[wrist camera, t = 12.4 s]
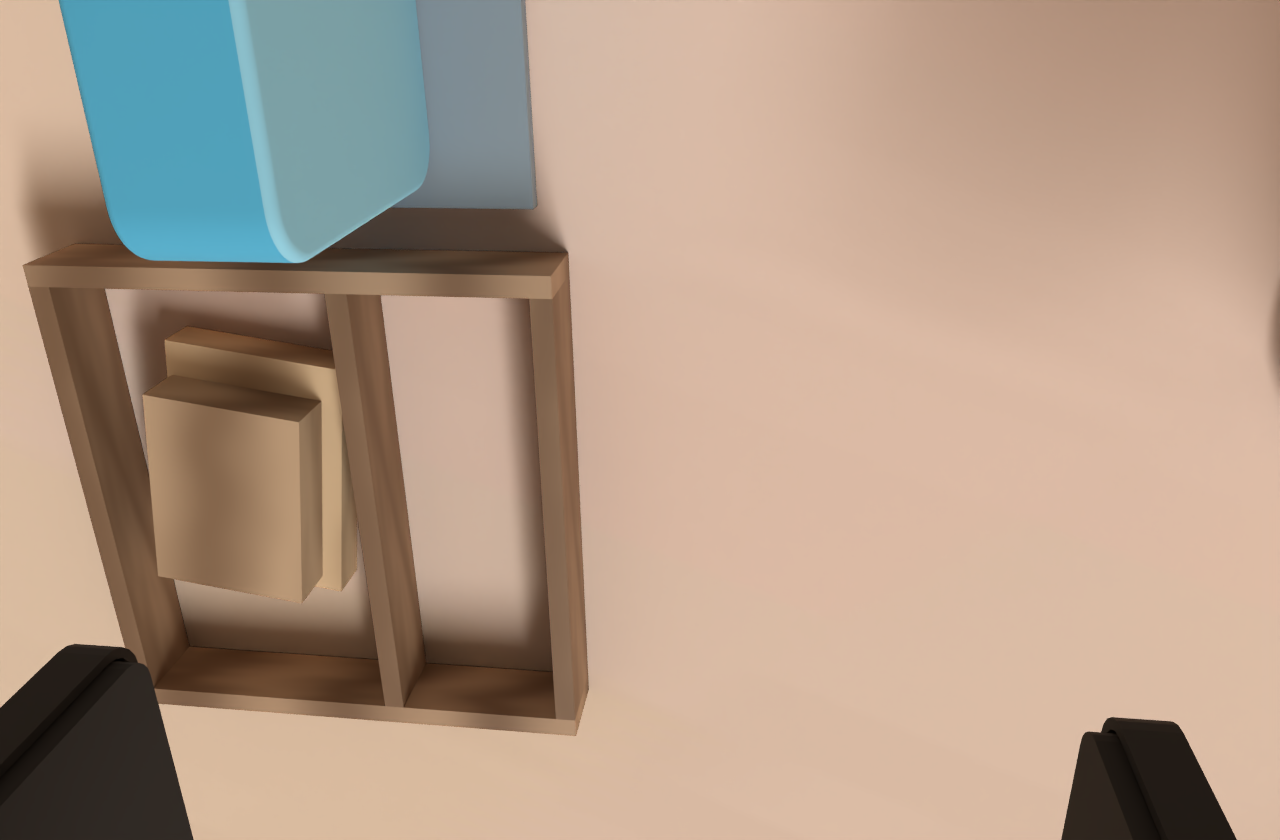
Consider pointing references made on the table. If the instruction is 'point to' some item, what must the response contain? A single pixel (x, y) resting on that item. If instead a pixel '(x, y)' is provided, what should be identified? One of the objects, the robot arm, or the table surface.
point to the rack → (352, 295)
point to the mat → (476, 106)
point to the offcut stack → (250, 466)
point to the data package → (249, 120)
